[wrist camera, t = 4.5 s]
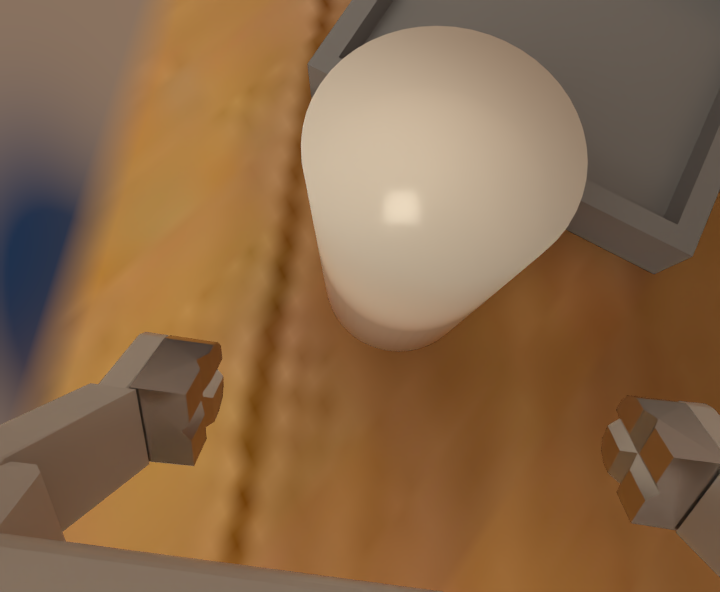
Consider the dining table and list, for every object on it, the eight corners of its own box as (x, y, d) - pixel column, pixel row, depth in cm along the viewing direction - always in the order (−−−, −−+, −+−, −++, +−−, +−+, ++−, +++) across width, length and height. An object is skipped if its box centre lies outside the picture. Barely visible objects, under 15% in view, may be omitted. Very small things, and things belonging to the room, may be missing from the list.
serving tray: (761, 21, 25) (805, -22, 23) (654, 274, 22) (692, 256, 19) (456, -113, 27) (467, -165, 24) (312, 100, 23) (307, 64, 21)
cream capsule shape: (492, 254, 22) (630, 99, 11) (427, 378, 20) (514, 339, 10) (369, 190, 22) (387, -15, 12) (299, 306, 21) (245, 194, 10)
